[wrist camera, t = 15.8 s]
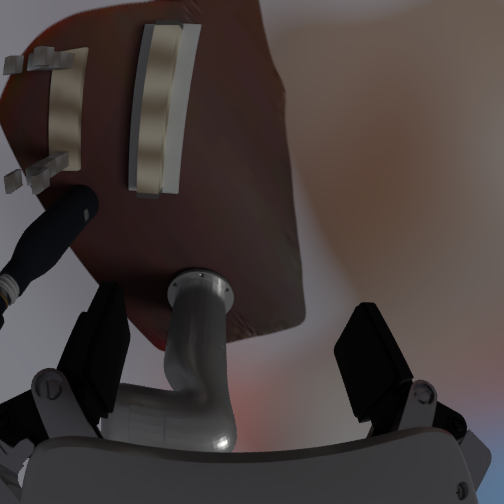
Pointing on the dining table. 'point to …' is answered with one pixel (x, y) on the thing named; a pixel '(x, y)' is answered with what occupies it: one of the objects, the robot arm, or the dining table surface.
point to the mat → (175, 111)
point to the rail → (157, 107)
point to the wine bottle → (46, 242)
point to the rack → (55, 114)
